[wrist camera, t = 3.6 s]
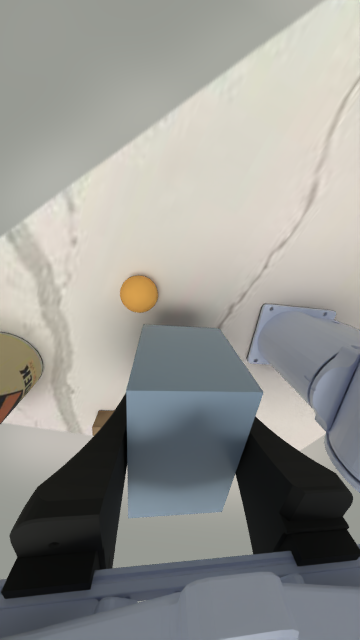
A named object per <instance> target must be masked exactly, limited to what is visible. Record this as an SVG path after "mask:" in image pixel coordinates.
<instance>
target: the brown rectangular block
mask: <svg viewBox="0 0 360 640" xmlns="http://www.w3.org/2000/svg"><path fill="white" fill-rule="evenodd" d="M113 412H114V411H99V412H98V414H97V417H96V419H95V422H94V424H93V427H92V431H93V436H95V434H96V433H97V432H98V431H99V430H100V429H101V428H102V426H103V425H104V424H105V423H106V421H107V420H108V419H109V417H110V416H111V415H112V413H113Z"/></svg>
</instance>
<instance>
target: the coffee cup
mask: <svg viewBox="0 0 360 640" xmlns="http://www.w3.org/2000/svg"><path fill="white" fill-rule="evenodd" d="M42 369H43V365H42V360H41V358H40V356H39V354H38V352H37V351H36V350H35V349H34V348H33V347H32V346H31V345H30V344H29V343H27V342H26V341H25V340H23V339H21V338H19V337H17V336H14V335H11V334H8V333H0V424H1V423H2V422H3V421H4V419H5V418H6V417H7V416H8V415H9V414H10V412H11V411H12V410H13V409H14V408H15V407H16V406H17V404H18V403H19V402H20V401H21V400H22V399H23V397H24V396H25V395H26V394H27V393H28V392H29V390H30V389H31V388H32V387H33V386H34V384H35V383H36V382H37V381H38V379H39V378H40V376H41V373H42Z"/></svg>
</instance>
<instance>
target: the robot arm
mask: <svg viewBox="0 0 360 640" xmlns="http://www.w3.org/2000/svg"><path fill="white" fill-rule="evenodd" d="M271 307H272V309H271V310H270V308H271ZM323 314H324V315H323ZM335 316H336V312H335V311H332V310H324V309H314V308H304V307H294V306H284V305H274V304H265V305H263V307H262V310H261V313H260V317H259V320H258V323H257V327H256V330H255V334H254V337H253V341H252V344H251V348H250V351H249V354H248V358H247V361H248V362H249V363H253V364H271V365H272V367H273V368H274V369H275V370H276V371H277V372H278V373H279V374H280V375H281V376H282V377H283V378H284V379H285V380H286V381H287V382H288V383H289V384H290V385H291V386H292V387H293V388H294V390H295V391H296V392H297V393H298V394H299V395H300V396H301V397H302V398H303V399H304V400H305V401H306V402H307V403H308V404H309V405H310V406H311V407H312V408H313V409H314V411H315V414H316V416H315V420H316V421H317V423H318V424H319V425H320V426H321V427H322V428H323V429H324V430H325V431H326V434H325V437H324V443H325V448H326V451H327V454H328V456H329V457H330V460H331V461H332V463H333V464H334V466H335V467H336V469H337V470H338V471H339V472H340V473H341V475H342V476H343V477H344V478H345V479H346V480H347V481H348V482H349V483H350V484H351V486H352V487H353V488H355V489H356V490H357V491H358V492H359V493H360V330H359V329H356V328H354V327H351V326H349V325H346V324H343V323H341V322H338V321H336V320H334V318H335ZM254 359H256V360H254ZM126 468H127V405H126V394H125V395H124V397H123V399H122V400H121V402H120V403H119V405H118V406H117V408H116V409H115V411H114V412H113V413H112V415H111V416H110V417H109V419H108V420H107V421H106V423H105V424H104V425H103V426H102V428H101V429H100V430H99V431H98V432H97V433H96V434H95V436H94V437H93V438H92V439H91V440H90V441H89V442H88V443H87V444H86V445H85V446H84V447H83V448H82V449H81V450H80V451H79V452H78V453H77V454H76V455H75V456H74V457H73V458H71V459H70V460H69V461H68V462H67V463H66V464H65V465H64V466H63V467H61V468H60V469H59V470H58V471H57V472H56V473H54V474H53V475H52V476H51V477H49V478H48V479H47V480H46V481H44V482H43V483H42V484H41V485H40V486H38V487H37V489H36V490H35V492H34V493H33V495H32V496H31V497H30V499H29V501H28V502H27V504H26V505H25V507H24V509H23V510H22V512H21V514H20V516H19V518H18V519H17V521H16V523H15V525H14V527H13V529H12V531H11V533H10V540H11V544H12V546H13V548H14V550H15V552H16V554H17V559H16V561H15V563H14V566H13V567H12V569H11V572H10V574H9V576H8V578H7V579H1V580H0V640H360V544H356V543H355V542H354V540H353V538H352V537H351V535H350V534H349V532H348V531H347V529H348V528H349V526H348V524H347V522H346V521H345V519H344V518H343V515H344V514H345V512H346V511H347V510H348V508H349V507H350V506H351V503H352V501H353V496H352V493H351V492H350V491H349V489H348V488H347V487H346V486H345V484H344V483H343V482H342V481H341V479H340V478H339V477H338V476H337V474H336V473H334V472H333V471H331V470H329V469H327V468H326V467H324V466H322V465H320V464H319V463H317V462H315V461H314V460H312V459H310V458H309V457H307V456H306V455H304V454H303V453H301V452H300V451H298V450H297V449H295V448H294V447H292V446H291V445H289V444H288V443H287V442H285V441H284V440H283V439H281V438H280V437H279V436H277V435H276V434H275V433H274V432H272V431H271V430H270V429H269V428H268V427H266V426H265V425H264V424H263V423H262V422H261V421H260V420H259V419H258V418H256V417H255V418H254V421H253V424H252V427H251V430H250V433H249V435H248V438H247V441H246V444H245V447H244V450H243V453H242V455H241V458H240V461H239V464H238V467H237V470H236V473H235V474H236V478H237V481H238V485H239V489H240V494H241V498H242V502H243V506H244V511H245V515H246V520H247V525H248V530H249V535H250V540H251V545H252V550H253V555H243V556H234V557H223V558H213V559H203V560H193V561H183V562H172V563H162V564H152V565H142V566H133V567H122V568H112V566H113V559H114V552H115V544H116V537H117V536H116V535H117V530H118V522H119V515H120V507H121V501H122V494H123V488H124V480H125V474H126ZM144 600H147V601H144ZM137 601H143V602H139V603H138V602H137Z"/></svg>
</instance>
